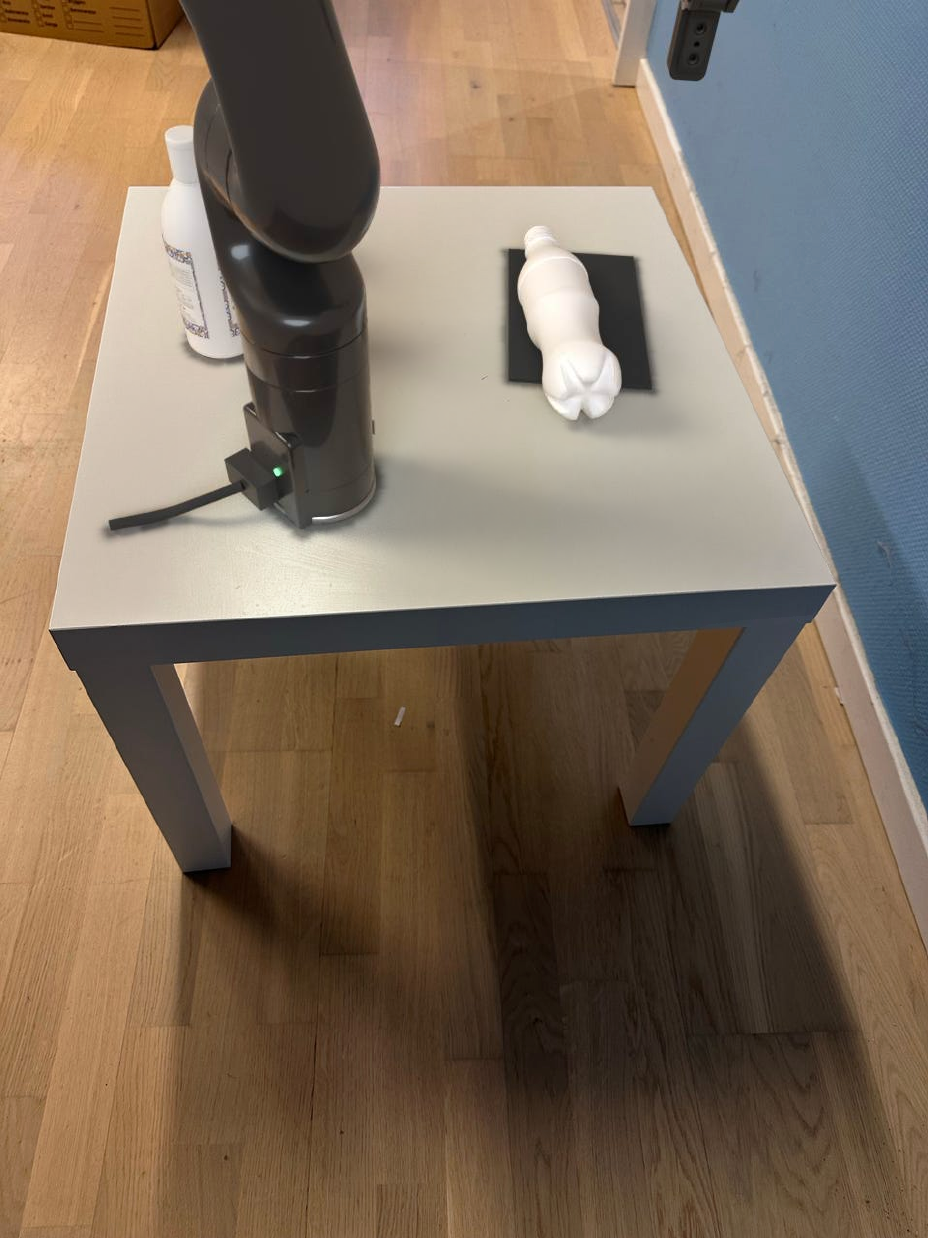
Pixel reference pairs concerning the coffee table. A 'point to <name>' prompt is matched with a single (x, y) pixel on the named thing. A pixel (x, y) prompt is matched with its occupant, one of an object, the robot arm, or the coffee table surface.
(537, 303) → the water bottle
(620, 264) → the mat
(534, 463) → the coffee table surface
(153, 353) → the coffee table surface
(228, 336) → the bath foam
